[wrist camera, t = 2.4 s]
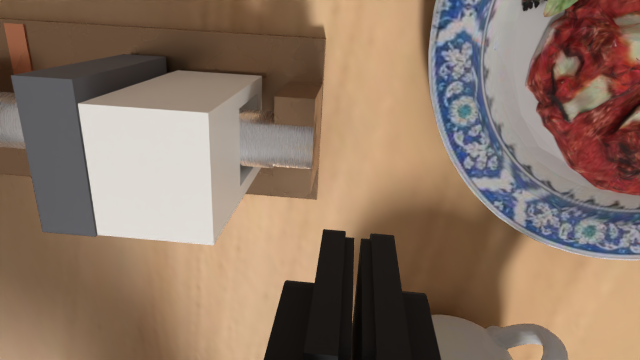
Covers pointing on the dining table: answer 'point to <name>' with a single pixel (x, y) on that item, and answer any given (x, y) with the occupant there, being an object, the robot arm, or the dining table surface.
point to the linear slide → (190, 55)
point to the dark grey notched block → (69, 132)
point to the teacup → (491, 340)
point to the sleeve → (169, 155)
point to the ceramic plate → (545, 115)
